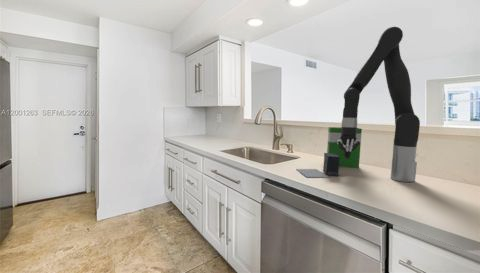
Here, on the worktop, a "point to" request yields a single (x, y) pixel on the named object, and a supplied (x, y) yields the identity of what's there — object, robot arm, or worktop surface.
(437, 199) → the worktop surface
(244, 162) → the worktop surface
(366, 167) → the worktop surface
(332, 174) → the small box
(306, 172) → the mat
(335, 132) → the green cereal box
